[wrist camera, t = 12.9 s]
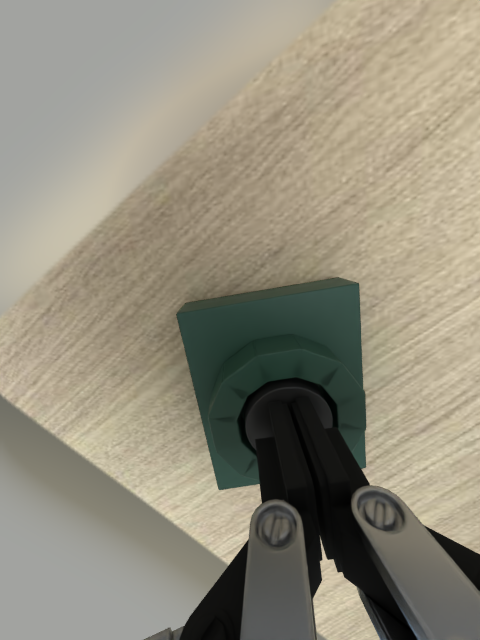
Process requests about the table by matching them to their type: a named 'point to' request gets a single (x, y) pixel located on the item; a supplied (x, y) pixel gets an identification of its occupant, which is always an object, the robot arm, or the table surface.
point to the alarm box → (273, 363)
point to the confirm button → (286, 393)
